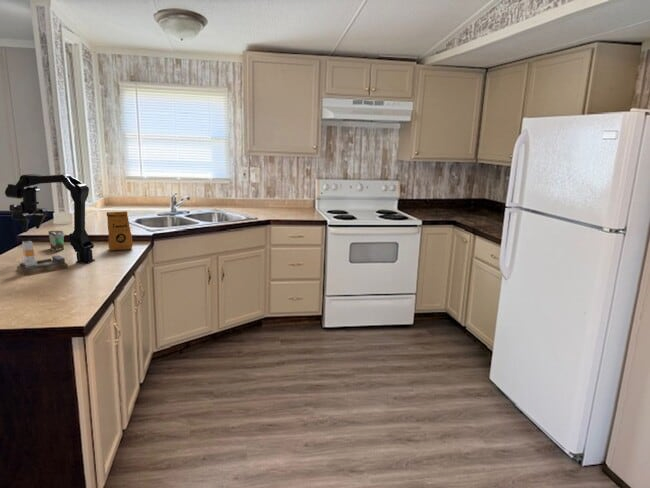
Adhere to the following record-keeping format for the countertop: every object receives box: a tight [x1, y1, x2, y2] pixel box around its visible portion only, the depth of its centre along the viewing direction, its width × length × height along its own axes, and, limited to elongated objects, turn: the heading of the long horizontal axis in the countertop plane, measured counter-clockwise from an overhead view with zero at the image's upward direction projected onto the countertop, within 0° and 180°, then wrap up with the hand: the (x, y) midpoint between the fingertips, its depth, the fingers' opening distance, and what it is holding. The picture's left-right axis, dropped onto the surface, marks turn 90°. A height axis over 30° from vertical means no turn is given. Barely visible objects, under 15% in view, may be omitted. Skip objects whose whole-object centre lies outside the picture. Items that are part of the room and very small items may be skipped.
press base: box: [16, 255, 69, 276], centre depth 210 cm, size 18×12×4 cm, turn 137°
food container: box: [48, 230, 65, 253], centre depth 246 cm, size 12×6×10 cm, turn 47°
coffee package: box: [106, 210, 134, 251], centre depth 248 cm, size 10×12×22 cm
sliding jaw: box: [22, 240, 38, 267], centre depth 205 cm, size 4×8×12 cm, turn 47°
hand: (31, 230), depth 221 cm, fingers open, 9 cm apart
